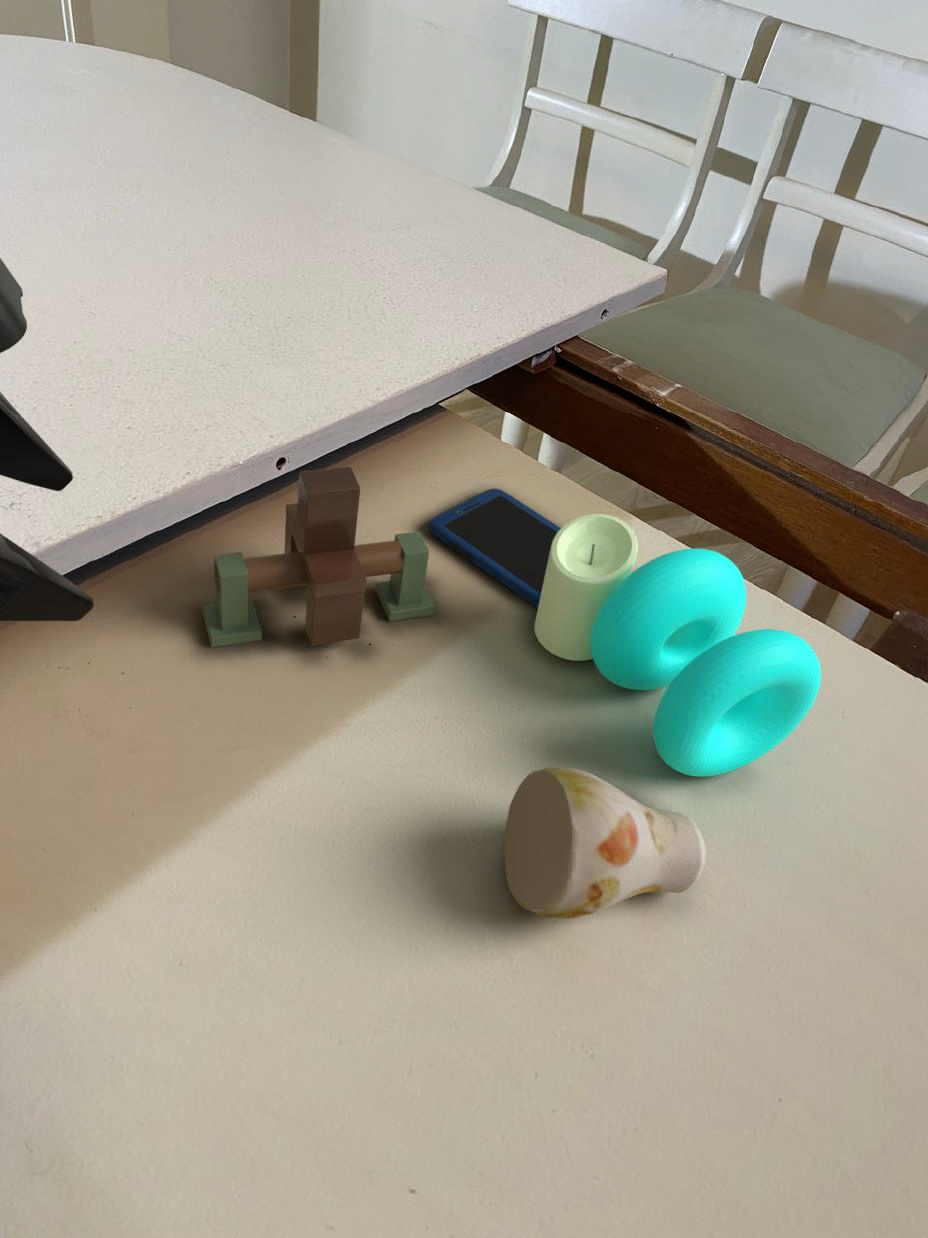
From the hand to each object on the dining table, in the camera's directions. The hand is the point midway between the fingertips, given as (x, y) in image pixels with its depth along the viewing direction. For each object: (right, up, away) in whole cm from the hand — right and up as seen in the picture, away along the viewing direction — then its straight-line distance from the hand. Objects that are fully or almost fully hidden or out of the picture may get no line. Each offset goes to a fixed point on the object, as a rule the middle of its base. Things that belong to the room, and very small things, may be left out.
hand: (76, 542), depth 46 cm
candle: (+24, -4, +20) cm, 32 cm away
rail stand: (+8, -3, +19) cm, 21 cm away
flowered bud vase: (+24, -17, +7) cm, 30 cm away
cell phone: (+22, +1, +26) cm, 34 cm away
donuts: (+30, -10, +16) cm, 35 cm away
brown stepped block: (+8, -2, +18) cm, 20 cm away
